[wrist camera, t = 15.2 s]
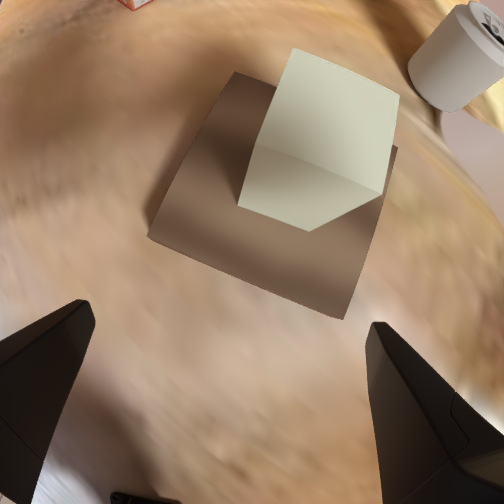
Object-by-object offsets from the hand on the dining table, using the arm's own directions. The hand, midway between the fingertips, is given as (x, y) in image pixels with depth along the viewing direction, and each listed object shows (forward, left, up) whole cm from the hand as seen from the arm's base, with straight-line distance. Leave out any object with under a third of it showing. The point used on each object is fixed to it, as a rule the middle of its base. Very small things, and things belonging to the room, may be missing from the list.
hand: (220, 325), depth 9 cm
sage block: (+8, -3, -11) cm, 14 cm away
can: (+25, -18, -13) cm, 33 cm away
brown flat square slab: (+9, -3, -14) cm, 17 cm away
